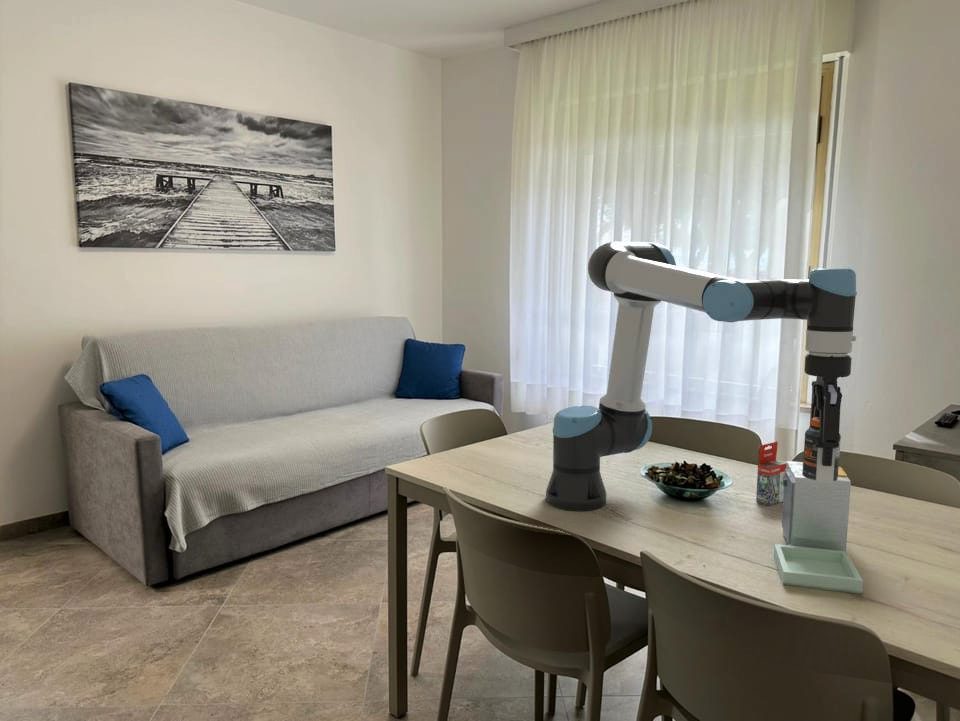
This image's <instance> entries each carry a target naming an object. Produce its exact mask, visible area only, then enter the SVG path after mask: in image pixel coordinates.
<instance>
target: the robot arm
mask: <svg viewBox="0 0 960 721" xmlns="http://www.w3.org/2000/svg"><path fill="white" fill-rule="evenodd" d="M587 264H588V265H587V271H588V272H587V273H588V276H589V279H590V281H591V282H592V283H593V284H594V286H595V287H597V288H598V289H600V290H602V291H606V292H610V293H613V297H614V298H615V299H616V301H617V302H618V308H617V313H616V314H617V315H616V322H615V330H614V337H613V338H614V339H613V344H612V352H611V359H610V366H609V367H610V368H609V374H608V380H607V381H608V382H607V389H606V394H604V395H603V396H601V397H600V398H599V404H598V407H596V406H593V405H581V406H579V405H578V406H577V405H574V406H570V407H566V408H563V409H561V410H559V411H558V412H556V413H555V415H554V418H553V425H552V426H553V427H552V434H553V435H552V436H553V437H552V440H553V441H552V443H553V445H552V446H553V449H552V451H553V452H552V453H553V454H552V462H553V463H552V473H551V475H550V478H549V481H548V484H547V487H546V489H545V500H546V503H547V504H549V505H550V506H552V507H554V508H558V509H562V510H566V511H575V512H578V511H579V512H581V511H582V512H583V511H584V512H585V511H593V510H597V509H600V508H602V507H604V506H605V505H607V491H606V488H605V484H604V481H603V478H602V475H601V457H607V456H613V455H618V454H623V453H624V454H628V453H632V452H634V451H637V450H640V449H642V448H644V446H646V444H647V443H648V442H649V440H650V438H651V435H652V432H653V422H652V420H651V419H650V418H651V415H650V414H649V412H648V411H647V409H646V407H647V406H646V404H645V402H644V401H643V400H642V394H643V393H642V392H643V385H644V377H645V371H646V365H647V358H648V351H649V344H650V338H651V333H652V332H651V331H652V326H653V324H652V323H653V317H654V311H655V307H656V306H658V305H659V304H660V303H661V302H662V301H663V302H665V303H668V304H673V305H676V306H679V307H683V308H687V309H691V310H695V311H698V312H702V313H705V314H707V316H708V317H709V318H710V319H711V320H714V321H716V322H725V323H736V322H746V321H747V322H748V321H757V320H776V319H782V320H783V319H785V320H787V319H788V320H804V321H806V330H805V347H804V348H805V351H806V352H808V353H806V355H805V356H804V373H805V374H806V375H809V376H812V377H816V379H815V380H812V382H811V403H810V416H809V417H810V419H809V427H808V429H809V428H811V422H812V418H814V417H820V443H819V444H815V447H816V448H818V453H817V470H816V482H823V483H833V477H834V461H835V449H836V448H838V447H839V433H840V425H841V422H840V421H841V405H842V398H843V394H842V392H841V387H840V386H838V379H839V378H846V377H849V376H850V375H851V371H852V360H853V359H852V357H851V355H849V354H850V353H852V351H853V342H856V341H857V336H855V335H854V321H855V320H854V319H855V309H856V308H855V306H856V297H857V295H858V294H857V273H856V271H855V270H853V269H851V268H813V269H812V270H811V271H810V273H809V277H808V278H807V279H805V278H804V279H784V278H781V279H779V278H766V279H739V278H735V277H729V276H723V275H720V274H719V275H718V274H714V273H710V272H706V271H702V270H696V269H691V268H686V267H682V266H677V263H676V259H675V257H674V255H673V254H672V253H671V251H670V250H669V248H667V247H666V246H665V245H663V244H660V243H654V242H649V241H610V242H606V243H604V244H602V245H600V246H599V247H597V248H596V249H595V250H594V251H593V252H592V254H591V256H590V257H589V260H588V263H587Z"/></svg>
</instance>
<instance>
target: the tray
mask: <svg viewBox="0 0 960 721" xmlns="http://www.w3.org/2000/svg"><path fill="white" fill-rule="evenodd" d="M773 547H774V548H773V557H774V560H775V563H776V567H777V571H778V573H779V576H780V579H781V582H782V585H783V586H792V587H798V588H807V589H815V590H826V591H832V592H833V591H834V592H839V593H841V592H842V593H849V594H856V595H857V594H858V595H863V592H864V591H863V590H864V579H863V577H862V576H861V575H860V574H861V573H860V572H859V571H858V569H857V568H856V566H855V564H854V562H853V561H852V558H851V557H850V555H849V554H848V552H847V551H846V552H845V551H836V550H826V549H817V548H807V547H797V546H788V544H787V545H786V544H776V543H775V544H774V546H773Z"/></svg>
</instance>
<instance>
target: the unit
mask: <svg viewBox="0 0 960 721" xmlns="http://www.w3.org/2000/svg"><path fill="white" fill-rule="evenodd" d="M786 462H787V464H786V469H785V477H784V479H783V486H784V494H783V502H782V518H781V529H782V534H783V535H784V539H785V541H786V544H787V545H788V546H797V547H807V548H817V549H826V550H836V551H845V552H847V545H848V531H849V530H848V529H849V528H848V527H849V516H850V515H849V514H850V501H851V500H850V499H851V498H850V497H851V483H852V481H851V480H850V478H849V477H848V475H847V473H846V472H845V471H844V469H843V468H842V467H841V466H839V468H838V479H837V480H836V481H833V483H823V482H816V481H813V480H810V479H807V478H805V477H804V476H803V474H802V473H803V461H792V460H787V461H786Z"/></svg>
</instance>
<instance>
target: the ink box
mask: <svg viewBox="0 0 960 721" xmlns="http://www.w3.org/2000/svg"><path fill="white" fill-rule="evenodd" d="M778 446H779V445H778V441H775V442H771V443H770V442H769V443H765V444H762V445H761V444H760V445H758V457H757V459H758V460H757V462H758V463H757V473H756V474H757V477H756V494H755V495H756V497H755V498H756V499H755V503H757V504H760V505H764V506H767V507H770V506H773V505H777V504H778V503H783V494H784V486H783V479H784V477H785V469H786V464H787V461H783V460H778V459H777V452H778ZM768 447H770V448H768Z"/></svg>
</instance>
